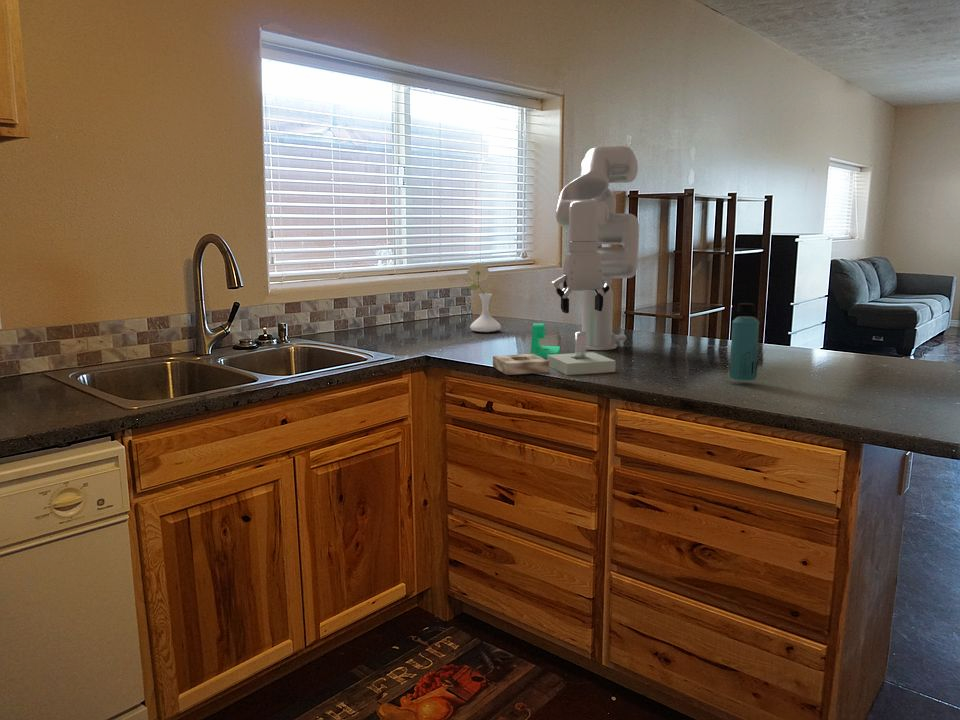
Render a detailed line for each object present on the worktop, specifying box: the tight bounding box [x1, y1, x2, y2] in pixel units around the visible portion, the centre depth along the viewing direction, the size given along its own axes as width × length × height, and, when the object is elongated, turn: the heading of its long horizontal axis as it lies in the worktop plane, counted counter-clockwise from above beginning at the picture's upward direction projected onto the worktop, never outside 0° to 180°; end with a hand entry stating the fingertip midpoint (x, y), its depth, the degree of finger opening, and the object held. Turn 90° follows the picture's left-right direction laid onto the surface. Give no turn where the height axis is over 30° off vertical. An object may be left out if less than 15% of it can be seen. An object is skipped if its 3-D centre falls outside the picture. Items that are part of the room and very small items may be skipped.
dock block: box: [546, 351, 617, 376], centre depth 204 cm, size 14×14×3 cm
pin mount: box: [492, 353, 550, 376], centre depth 203 cm, size 12×12×3 cm
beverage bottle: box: [728, 302, 760, 381], centre depth 183 cm, size 6×7×20 cm
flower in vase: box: [466, 262, 502, 333], centre depth 271 cm, size 13×11×25 cm
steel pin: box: [574, 331, 587, 360], centre depth 204 cm, size 3×3×10 cm
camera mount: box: [530, 322, 561, 360], centre depth 221 cm, size 12×8×10 cm, turn 169°
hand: (581, 311), depth 202 cm, fingers open, 9 cm apart
